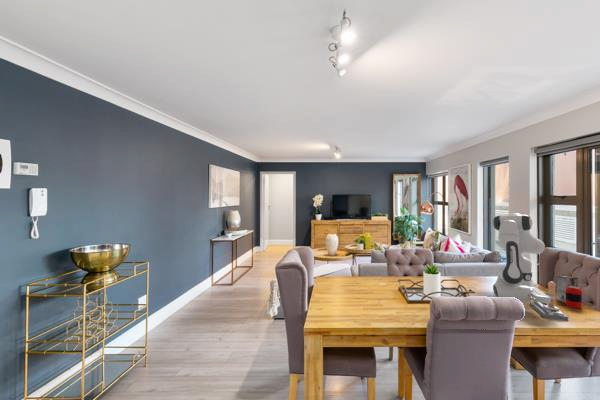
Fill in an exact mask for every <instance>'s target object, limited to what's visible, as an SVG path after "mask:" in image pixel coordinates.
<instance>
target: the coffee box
mask: <svg viewBox="0 0 600 400" xmlns="http://www.w3.org/2000/svg"><path fill="white" fill-rule="evenodd" d="M556 277H557V279H556V300H557V301H560V302H563V303H565V302H566V288H567V287H568V286H574V287H578V283H579V282H578V277H576V276H570V275H557V276H556Z"/></svg>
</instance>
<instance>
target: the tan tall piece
mask: <svg viewBox="0 0 600 400" xmlns="http://www.w3.org/2000/svg"><path fill="white" fill-rule="evenodd" d="M547 287H548V290H547V293H548V295H550V296H551V295H554V296H555V297H556V287H557V283H555V282H554V281H548V283H547ZM555 303H556V299H551V301H550V303H548V305H543V307H544V308H545V309H549V310H551V311H552V312H555V310H560V307H557V305H555Z"/></svg>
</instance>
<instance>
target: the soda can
mask: <svg viewBox="0 0 600 400" xmlns="http://www.w3.org/2000/svg"><path fill="white" fill-rule="evenodd" d="M582 293H583V291H582V289H581V288H580V287H578V286H577V287H574V286H568V287H567V288H566V302H564V303H565V306H566V307H568V308H569V307H570V308H572V309H573V308H574V309H581V308H582V302H583V301H582V299H583V298H582V297H583V296H582V295H583V294H582Z"/></svg>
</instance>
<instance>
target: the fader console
mask: <svg viewBox="0 0 600 400" xmlns="http://www.w3.org/2000/svg"><path fill="white" fill-rule="evenodd" d="M529 305H530V307H532V309H534V310H535V311H536V312H537V313H539V314H540V315H541V316H542V317H543V318H546V319H552V320H559V321H560V320H562V321H569V316H568V315H567V314H565V313H563V312H562V311H561V310H560V309H559V310H555V312H552V311H551V310H549V309H545V308H544V307H543V305H548V303H541V302H536V301H534V300H533V301H529Z"/></svg>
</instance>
